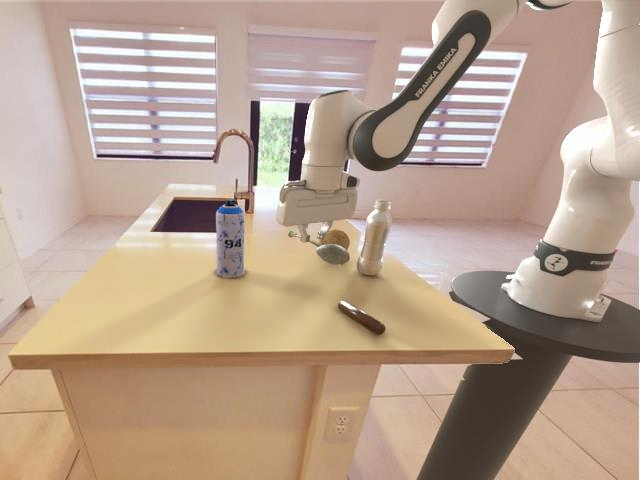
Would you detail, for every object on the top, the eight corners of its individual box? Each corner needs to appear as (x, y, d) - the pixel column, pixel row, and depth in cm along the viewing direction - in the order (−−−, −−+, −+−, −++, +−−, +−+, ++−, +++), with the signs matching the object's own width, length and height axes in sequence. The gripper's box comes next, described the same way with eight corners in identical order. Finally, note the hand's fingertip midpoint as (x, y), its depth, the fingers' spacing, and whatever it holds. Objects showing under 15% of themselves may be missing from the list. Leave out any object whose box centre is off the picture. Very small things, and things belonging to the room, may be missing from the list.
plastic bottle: (367, 267, 93) (382, 198, 83) (385, 276, 87) (403, 202, 78) (350, 271, 90) (364, 199, 81) (368, 280, 85) (384, 204, 76)
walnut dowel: (343, 306, 72) (344, 297, 71) (386, 335, 62) (389, 324, 61) (334, 309, 71) (336, 299, 70) (378, 338, 61) (380, 327, 60)
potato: (315, 264, 94) (319, 232, 90) (316, 254, 102) (320, 224, 97) (346, 267, 92) (353, 234, 88) (345, 257, 100) (350, 226, 95)
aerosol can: (219, 279, 84) (218, 203, 75) (214, 268, 91) (212, 197, 82) (247, 276, 86) (249, 201, 77) (240, 265, 93) (241, 196, 83)
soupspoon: (329, 271, 65) (355, 264, 67) (330, 256, 64) (356, 249, 65) (280, 239, 83) (301, 234, 85) (280, 226, 82) (302, 222, 83)
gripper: (289, 183, 62) (284, 250, 68) (366, 178, 70) (354, 238, 76) (272, 179, 67) (269, 242, 73) (346, 175, 75) (337, 232, 81)
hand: (313, 240), depth 75 cm, fingers closed on soupspoon, 3 cm apart
